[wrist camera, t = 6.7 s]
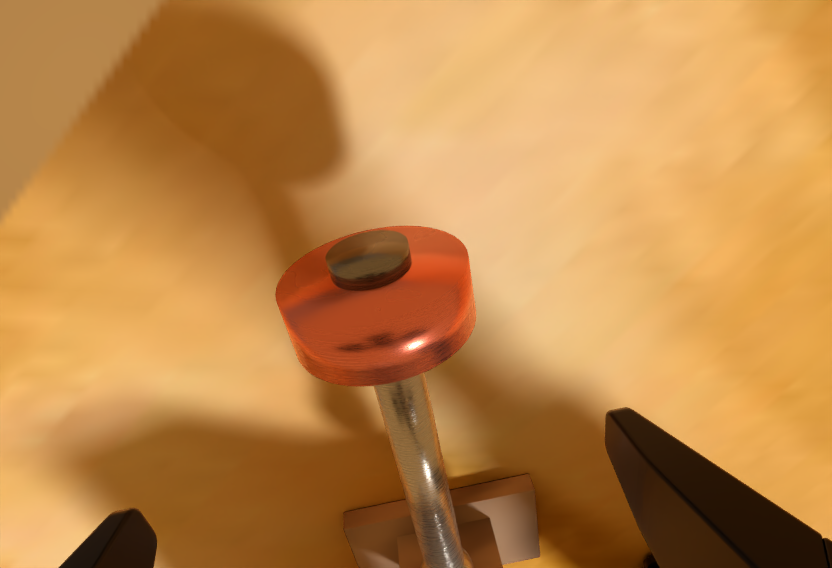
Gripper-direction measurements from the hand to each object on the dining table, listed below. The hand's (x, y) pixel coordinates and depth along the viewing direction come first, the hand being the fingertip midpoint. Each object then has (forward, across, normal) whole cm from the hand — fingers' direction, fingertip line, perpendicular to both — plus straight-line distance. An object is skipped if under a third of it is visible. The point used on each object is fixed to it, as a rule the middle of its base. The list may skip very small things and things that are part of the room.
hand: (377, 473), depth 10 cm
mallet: (+8, 0, +6) cm, 10 cm away
